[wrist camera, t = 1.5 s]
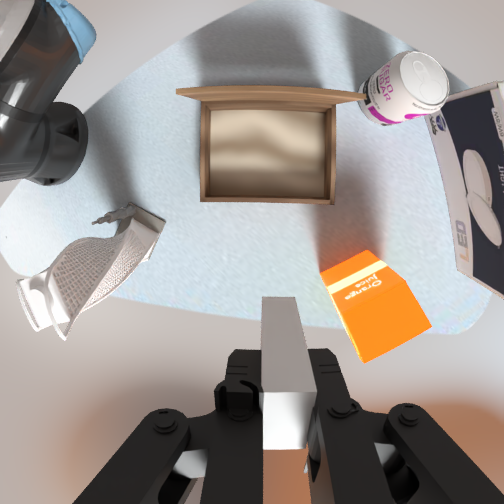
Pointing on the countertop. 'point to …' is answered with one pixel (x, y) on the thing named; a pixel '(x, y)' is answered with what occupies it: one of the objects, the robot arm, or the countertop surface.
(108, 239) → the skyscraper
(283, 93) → the lid
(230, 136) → the box
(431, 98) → the supplement can
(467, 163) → the packaging
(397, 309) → the orange juice
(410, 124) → the countertop surface
